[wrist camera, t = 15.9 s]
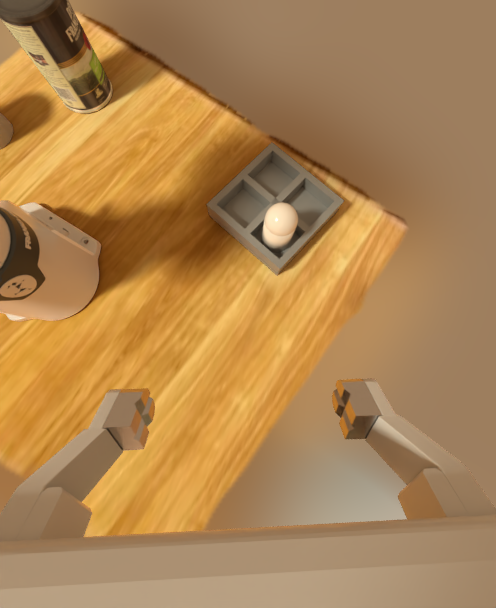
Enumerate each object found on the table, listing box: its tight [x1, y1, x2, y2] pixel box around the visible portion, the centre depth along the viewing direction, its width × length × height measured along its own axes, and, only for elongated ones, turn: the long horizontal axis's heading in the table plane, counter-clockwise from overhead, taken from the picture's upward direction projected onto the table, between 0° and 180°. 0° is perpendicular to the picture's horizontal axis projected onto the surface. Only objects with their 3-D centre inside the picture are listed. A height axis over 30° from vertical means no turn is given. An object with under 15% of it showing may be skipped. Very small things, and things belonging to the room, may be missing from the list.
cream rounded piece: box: [261, 202, 298, 253], centre depth 37 cm, size 5×5×9 cm
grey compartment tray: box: [207, 143, 344, 275], centre depth 42 cm, size 17×17×4 cm
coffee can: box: [0, 0, 113, 113], centre depth 40 cm, size 10×10×14 cm
